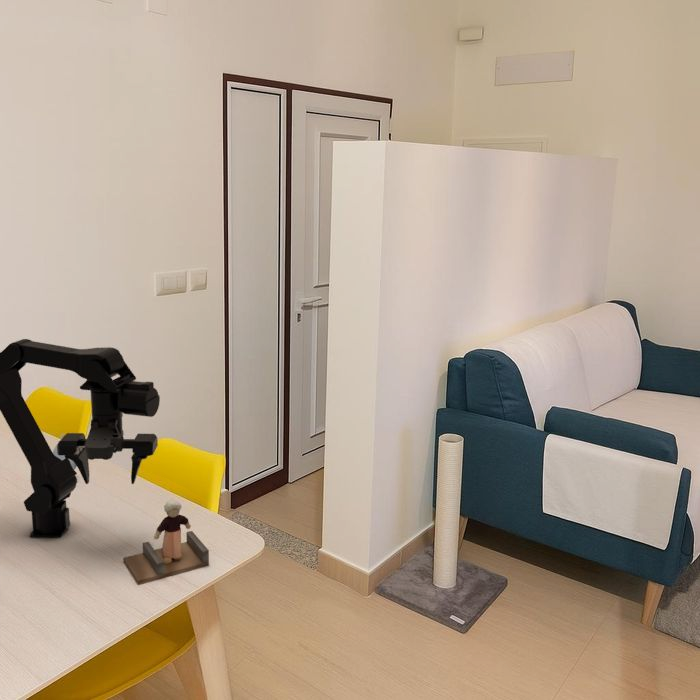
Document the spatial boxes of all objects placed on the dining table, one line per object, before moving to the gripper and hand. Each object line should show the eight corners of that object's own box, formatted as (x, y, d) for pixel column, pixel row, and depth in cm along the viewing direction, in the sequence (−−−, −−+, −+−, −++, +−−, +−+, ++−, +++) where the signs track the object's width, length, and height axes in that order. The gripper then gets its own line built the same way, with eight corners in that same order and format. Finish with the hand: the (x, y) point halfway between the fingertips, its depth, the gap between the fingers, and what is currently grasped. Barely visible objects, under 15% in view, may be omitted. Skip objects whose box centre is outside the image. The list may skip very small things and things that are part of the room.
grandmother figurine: (164, 568, 142) (163, 509, 139) (152, 561, 144) (150, 503, 141) (195, 553, 148) (194, 496, 144) (183, 547, 150) (182, 490, 147)
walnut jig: (138, 584, 138) (137, 568, 137) (123, 561, 145) (122, 546, 144) (208, 565, 145) (208, 550, 144) (191, 544, 153) (191, 529, 152)
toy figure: (77, 488, 176) (75, 442, 173) (50, 491, 174) (47, 444, 171) (78, 471, 186) (76, 426, 183) (52, 473, 184) (49, 428, 181)
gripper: (45, 424, 138) (50, 500, 141) (145, 425, 139) (148, 500, 143) (63, 405, 148) (68, 477, 152) (156, 406, 150) (159, 477, 153)
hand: (110, 483), depth 150 cm, fingers open, 9 cm apart
